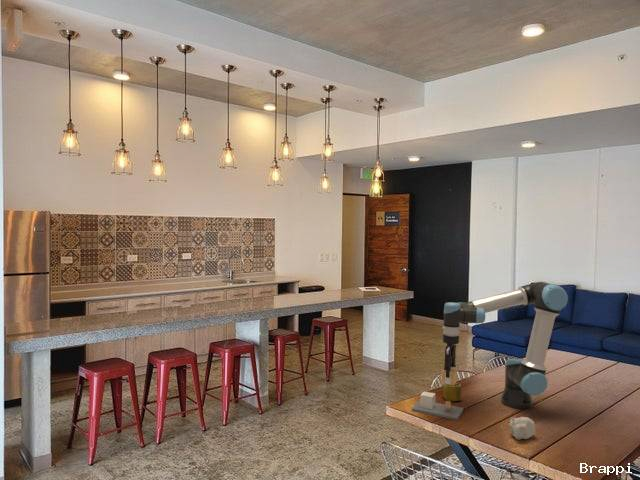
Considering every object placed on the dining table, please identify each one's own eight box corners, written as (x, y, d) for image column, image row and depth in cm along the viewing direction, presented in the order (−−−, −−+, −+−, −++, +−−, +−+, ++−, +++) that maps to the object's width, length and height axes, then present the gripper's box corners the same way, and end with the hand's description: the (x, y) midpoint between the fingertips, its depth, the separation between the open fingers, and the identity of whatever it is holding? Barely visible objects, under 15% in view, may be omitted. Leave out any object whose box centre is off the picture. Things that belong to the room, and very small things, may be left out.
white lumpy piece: (517, 443, 200) (501, 432, 215) (543, 442, 201) (525, 431, 216) (516, 420, 201) (500, 411, 216) (542, 420, 202) (524, 411, 217)
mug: (465, 400, 245) (459, 381, 247) (445, 405, 247) (440, 385, 249) (464, 397, 256) (459, 378, 259) (445, 401, 258) (440, 382, 261)
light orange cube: (456, 381, 234) (457, 369, 234) (453, 385, 229) (454, 372, 229) (444, 379, 237) (444, 367, 237) (441, 382, 232) (441, 370, 231)
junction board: (463, 410, 237) (463, 395, 237) (457, 420, 225) (457, 404, 224) (419, 401, 247) (420, 388, 247) (411, 410, 235) (412, 396, 235)
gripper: (447, 330, 242) (446, 375, 243) (438, 337, 226) (436, 386, 226) (462, 332, 239) (461, 378, 239) (454, 339, 222) (452, 388, 223)
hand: (449, 381), depth 233 cm, fingers closed on light orange cube, 6 cm apart
